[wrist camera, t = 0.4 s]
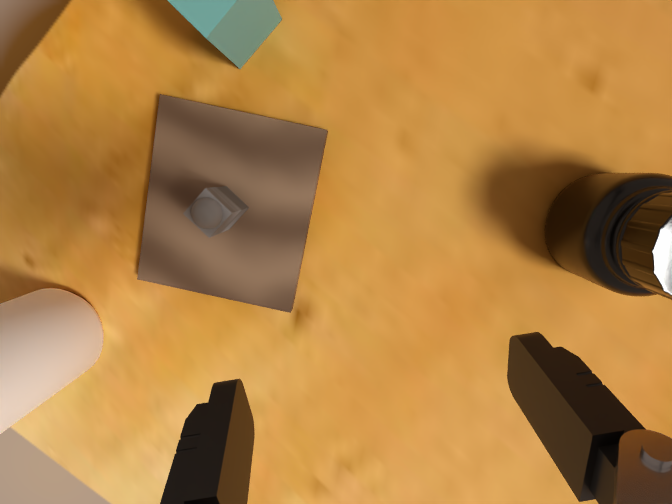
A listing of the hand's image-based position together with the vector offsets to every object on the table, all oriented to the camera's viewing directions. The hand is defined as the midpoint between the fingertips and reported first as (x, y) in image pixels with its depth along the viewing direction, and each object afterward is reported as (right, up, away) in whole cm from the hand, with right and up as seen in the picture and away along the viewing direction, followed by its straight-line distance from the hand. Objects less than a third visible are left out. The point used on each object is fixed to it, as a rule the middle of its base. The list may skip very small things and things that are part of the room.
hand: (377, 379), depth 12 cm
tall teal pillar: (-9, +23, +22) cm, 33 cm away
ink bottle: (+21, +6, +23) cm, 32 cm away
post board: (-10, +8, +24) cm, 28 cm away
